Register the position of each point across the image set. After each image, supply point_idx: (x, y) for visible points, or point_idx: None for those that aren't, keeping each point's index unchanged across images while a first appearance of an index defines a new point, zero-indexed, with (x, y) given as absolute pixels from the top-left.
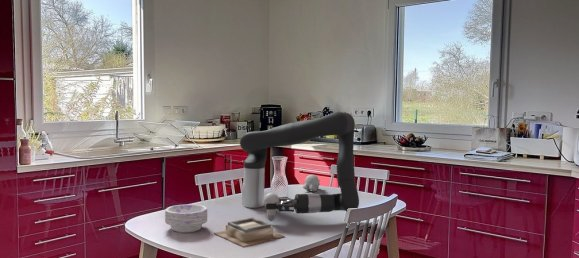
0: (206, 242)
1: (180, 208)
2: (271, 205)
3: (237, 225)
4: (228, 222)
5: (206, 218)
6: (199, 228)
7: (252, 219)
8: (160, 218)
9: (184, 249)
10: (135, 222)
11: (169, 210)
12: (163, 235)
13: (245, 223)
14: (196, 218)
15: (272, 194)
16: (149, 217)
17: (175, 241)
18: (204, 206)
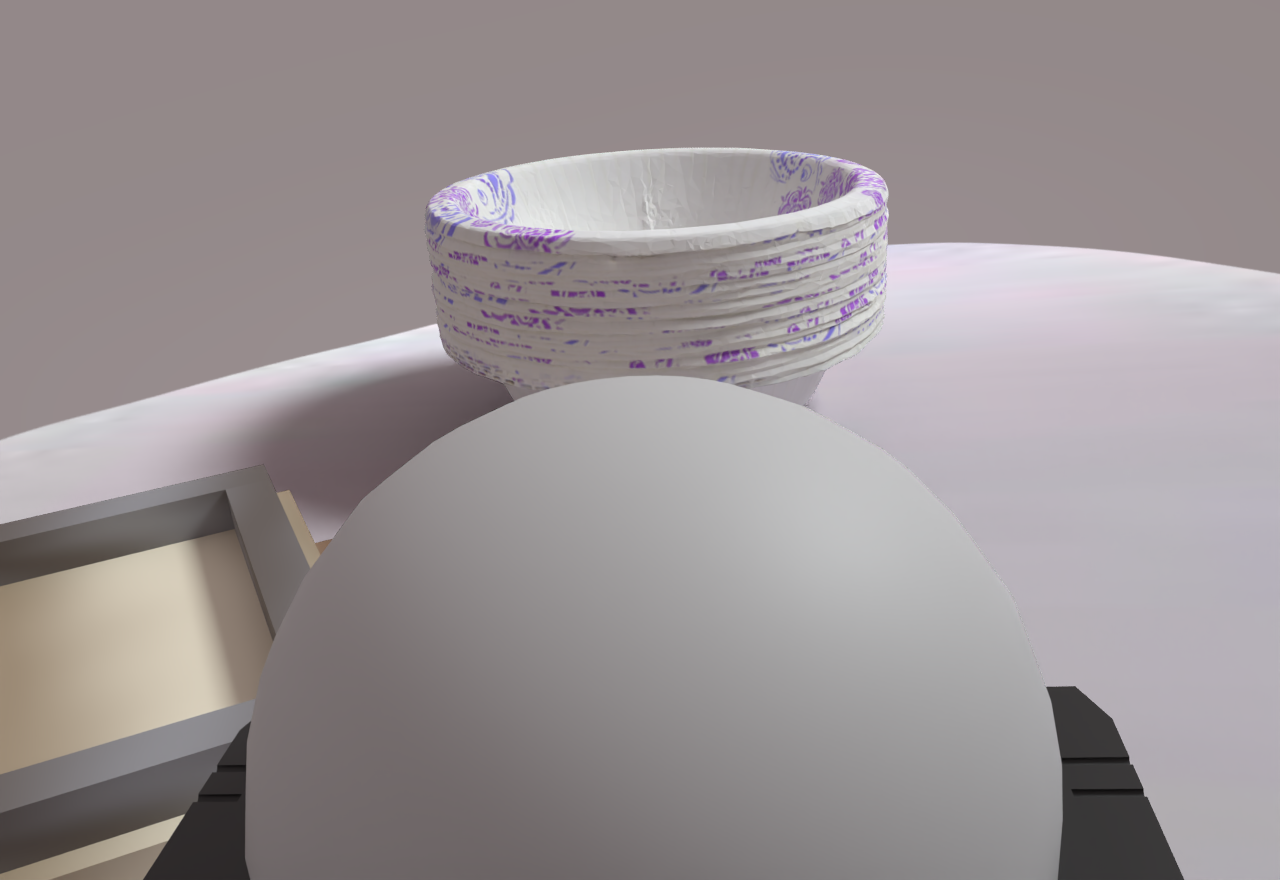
0: None
1: (819, 198)
2: (200, 794)
3: (23, 528)
4: (256, 468)
5: (560, 352)
6: None
7: None
8: (1059, 297)
9: (78, 424)
10: (919, 251)
11: (690, 170)
12: None
13: (216, 650)
14: (441, 282)
15: (442, 457)
16: (1082, 268)
17: (324, 385)
18: (730, 225)
